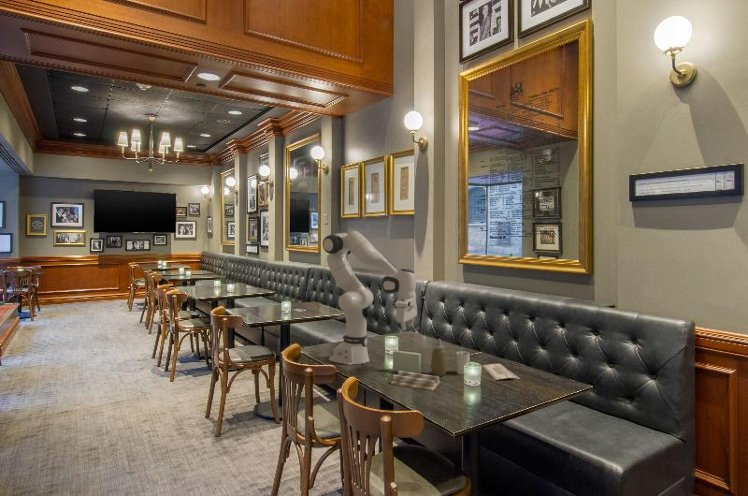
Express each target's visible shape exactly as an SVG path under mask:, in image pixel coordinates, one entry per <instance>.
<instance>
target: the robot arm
mask: <svg viewBox="0 0 748 496" xmlns="http://www.w3.org/2000/svg"><path fill="white" fill-rule="evenodd" d="M322 247H323V250H324V252H325V253H327V254H328V255H327V256H326V262H327V265H328V268H329V270H330V273H331V275H332V276H333V279H334V282H335V283H336V285H337V286H338V287H339V288H341V289H342V290H343V291H344V293H343V294H342V295H340V296H339V299H338V307H339V309H340V310H341V311H342V312H343V314H344V317H345V323H346V324H345V325H346V328H345V329H346V333H345V335H344V336H342V337H341V338H342V340H343V341H342V342H340V343H339V344H337V346H336V347H334V349H333V353H332V355H331V356H329V357H328V361H330V362H334V363H339V364H342V363H343V365H346V364H347V366H351V365H352V364H353V365H362V363H363V364H366V362H367V363H368V362H370V357H369V352H368V334H367V328H368V327H367V325H368V322H367V320H366V318H365V317H364V315H363V309H366V308H368V307H369V306H371V305H372V304H373V302H374V294H373V292H372V291H371V290H369V289H368V288H367V287H365V286H364V285H363V283H362V282H361V281H360V280H359V278H358V277H357V276H356V273H354V270H353V269H352V266H351V265H350V263H349V262H348V259H347V255H350V254H352V255H353V256H354V258H355V259H356V260H357V261H359V262H360V263H361V264H364V265H368V266H372V267H376V268H378V269H380V270H381V271H382V272H383V273H384V274H385V276H383V278H382V279H381V282H380V287H381V289H382V291H383V292H384V293H385V294H388V295H392V294H393V295H394V294H398V296H397V297H398V298H397V300H396V301H395V303H394V307H396V308H395V320H396V322H397V323H398V324H400V327H401V331H403V332H404V331H406V330H407V326H406V322H408V328H412V327H413V326H414V325H413V323H414V320H415V319H414V318H416V317H418V306H417V305H418V304H417V294H416V288H417V279H416V273H415V271H414V270H412V269H409V268H400V269H399V270H398V268H397V267H396V266H395V265H394V264H393V263H391V261H390V260H388V258H386V257H385V256H384V255H383V254H382V253H381V252H379V250H378V249H377V248H376V247H374V245H373V244H372V243H371V242H370V240H368V239H367V238H366V237H365V236H364V235H363V234H362V233H361V232H359V231H357V230H353V231H350V232H338V233H334V234H329V235H327V236H326V237H324V238H323V241H322ZM353 365H352V366H353Z"/></svg>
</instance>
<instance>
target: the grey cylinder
mask: <svg viewBox="0 0 748 496" xmlns="http://www.w3.org/2000/svg"><path fill="white" fill-rule="evenodd" d="M470 354H471V353H470V352H468V351H456V354H455V356H456V357H455V358H456V373H457V374H458V375H462V376H463V374H464V365H465V364H466V363H469V364H470V359H471V358H470V357H471V356H470Z"/></svg>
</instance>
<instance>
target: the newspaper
mask: <svg viewBox="0 0 748 496" xmlns="http://www.w3.org/2000/svg"><path fill="white" fill-rule="evenodd" d="M481 367H482V368H483V370H485V371H486V372H487V374H489V376H491V377H492V379H494V380H495V381H496V380H497V381H498V380H504V379H510V378H511V379H510V380H512V379H513V380H512V381H517V380H519V379H521V377H518V376H517V374H514V373H513V372H512V371H510V370H508V368H506V367H505V366H504V365H503V364H501V363H490V364H484V365H481Z"/></svg>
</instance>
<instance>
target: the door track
mask: <svg viewBox="0 0 748 496" xmlns="http://www.w3.org/2000/svg"><path fill="white" fill-rule="evenodd" d="M397 373H398V374H393V375H392V381H390V382H391V383H390V384H391V385H395V386H399V387H400V386H401V387H406V388H414V389H419V390H425V391H431V392H433V391H434V390H435V389H436V388H437V386H439V385H440V384H441V380H440V376H435V375H432V374H423V373H420V374H419V373H412V372H405V371H398V372H397Z"/></svg>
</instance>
